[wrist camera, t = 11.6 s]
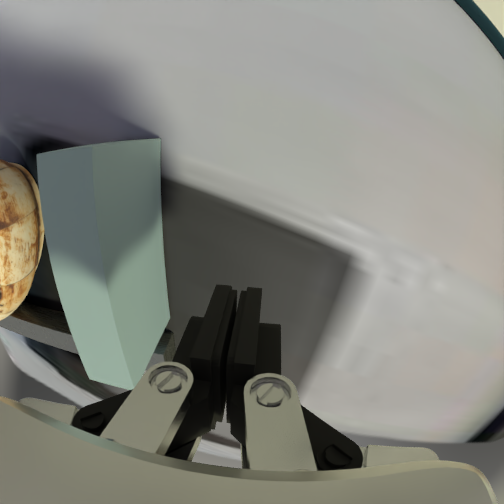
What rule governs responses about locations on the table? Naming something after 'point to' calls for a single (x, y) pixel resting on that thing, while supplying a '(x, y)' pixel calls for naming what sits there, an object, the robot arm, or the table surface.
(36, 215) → the trinket box
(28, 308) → the vise
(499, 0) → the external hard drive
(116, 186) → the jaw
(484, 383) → the table surface
